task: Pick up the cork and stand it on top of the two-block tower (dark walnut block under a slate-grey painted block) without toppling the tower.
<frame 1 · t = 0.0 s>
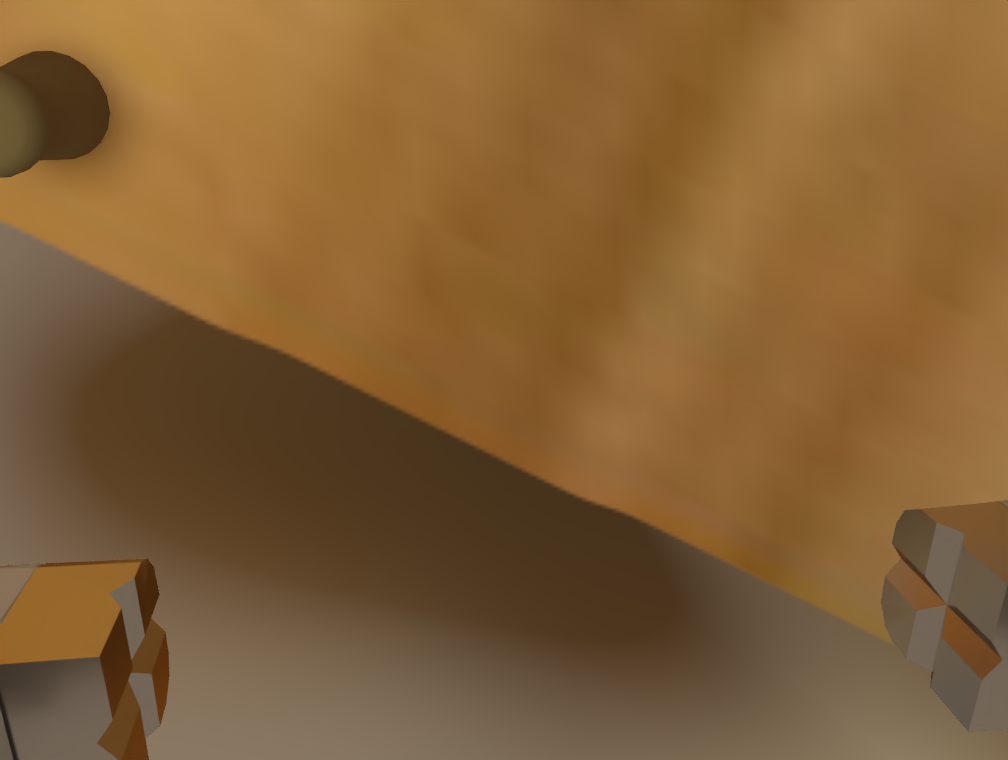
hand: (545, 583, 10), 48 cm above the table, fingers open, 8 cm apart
cork: (55, 106, 51), on the table
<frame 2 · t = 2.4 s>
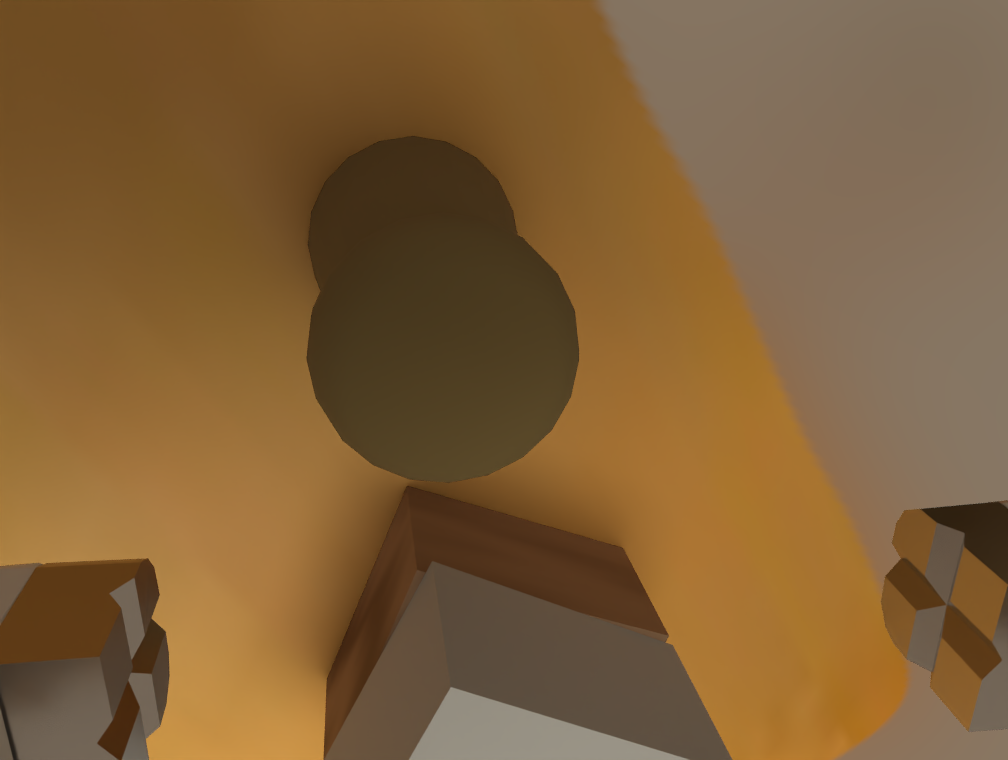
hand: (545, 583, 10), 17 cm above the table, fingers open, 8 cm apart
walnut block: (474, 610, 31), on the table, touching grey block
grey block: (494, 710, 26), point 5 cm above the table, touching walnut block
cork: (413, 242, 26), on the table
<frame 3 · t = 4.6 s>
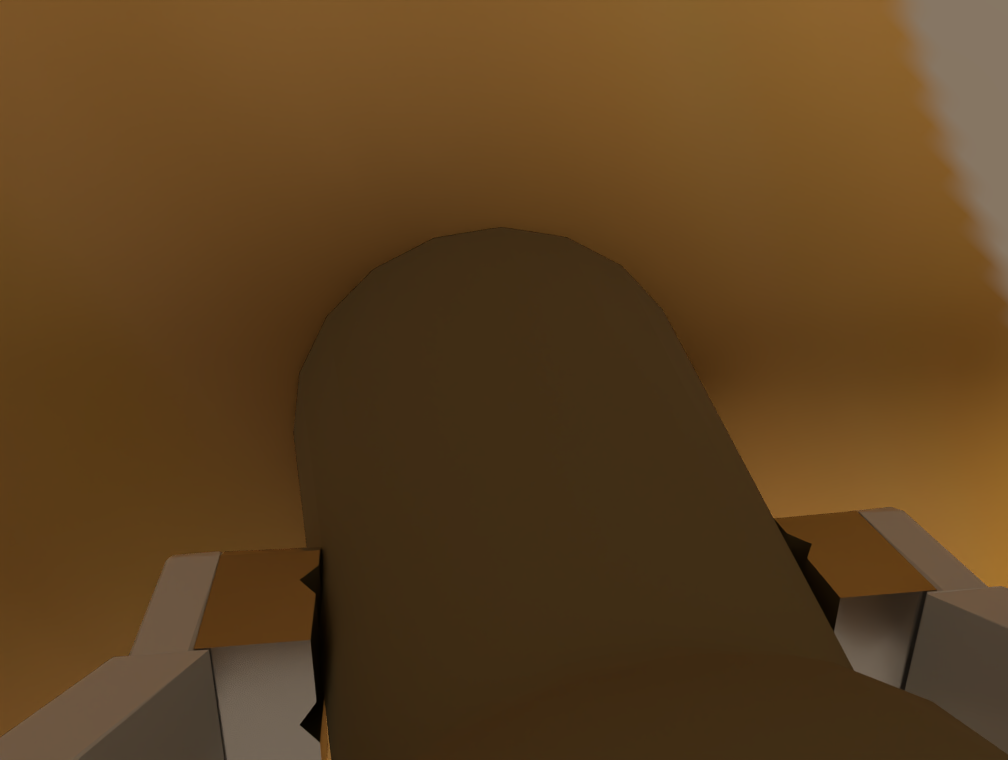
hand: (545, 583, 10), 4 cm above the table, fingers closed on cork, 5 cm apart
cork: (495, 419, 13), on the table, touching gripper
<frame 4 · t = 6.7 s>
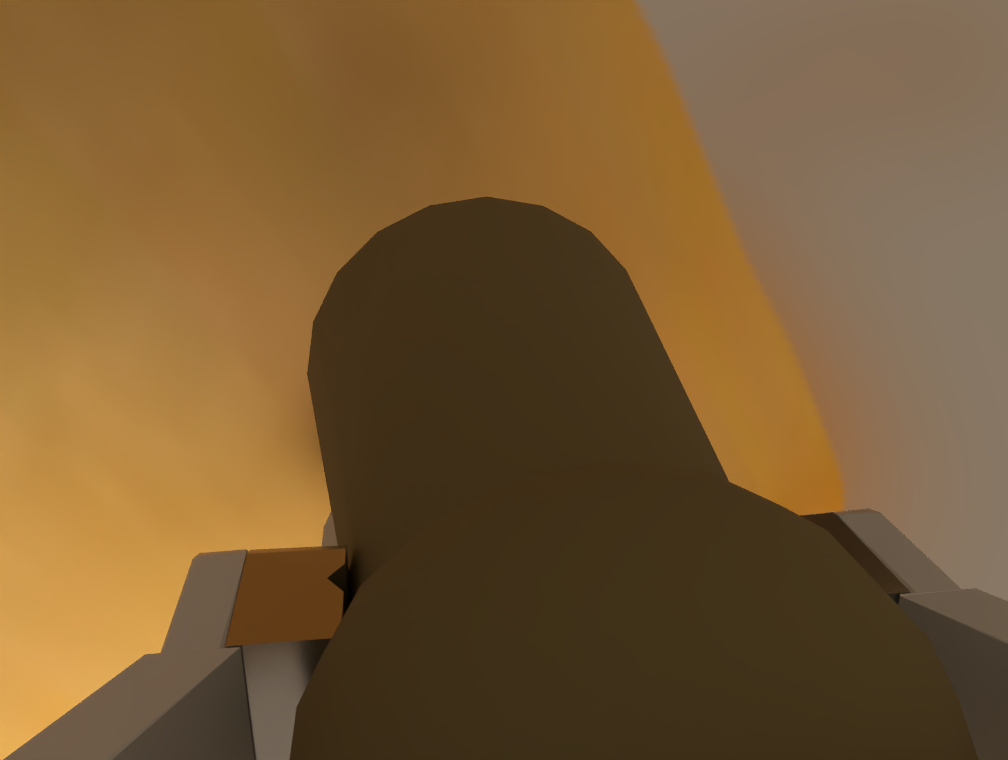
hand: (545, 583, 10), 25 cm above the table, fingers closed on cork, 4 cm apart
grey block: (471, 474, 32), point 5 cm above the table, touching walnut block
cork: (481, 365, 16), point 18 cm above the table, touching gripper
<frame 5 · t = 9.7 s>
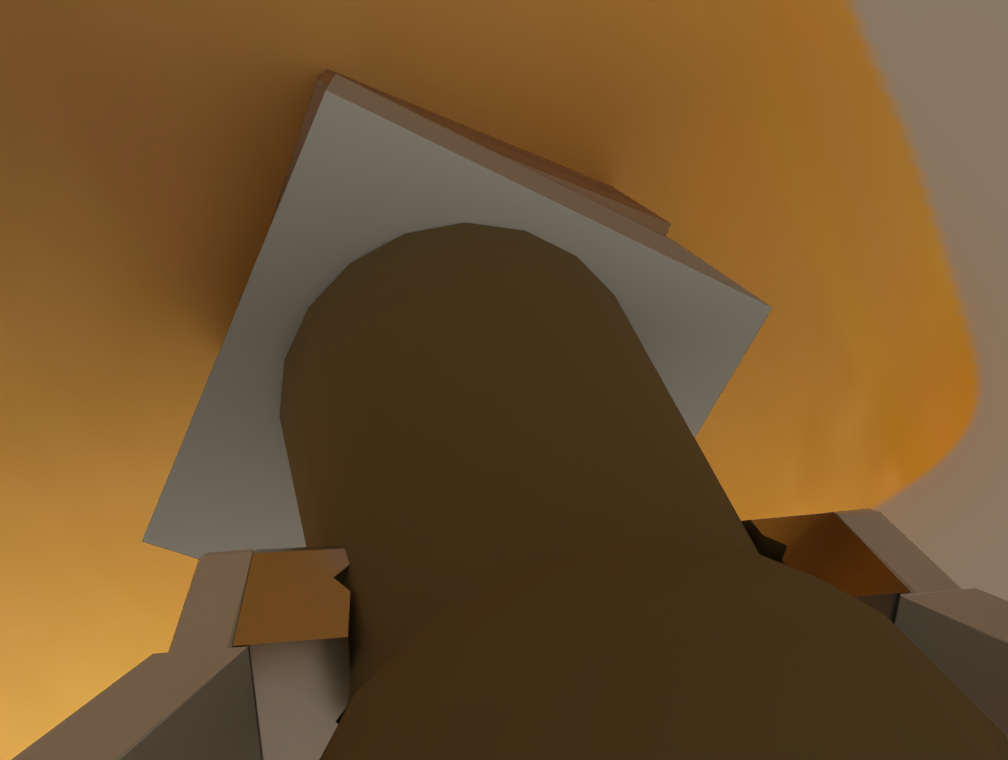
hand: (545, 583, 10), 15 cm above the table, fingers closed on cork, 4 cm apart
walnut block: (421, 271, 24), on the table, touching grey block
grey block: (435, 330, 19), point 5 cm above the table, touching cork, walnut block
cork: (465, 399, 15), point 10 cm above the table, touching grey block, gripper
when the fingers open (15 cm above the table, at t = 9.9 s): cork stays where it is, resting on grey block.
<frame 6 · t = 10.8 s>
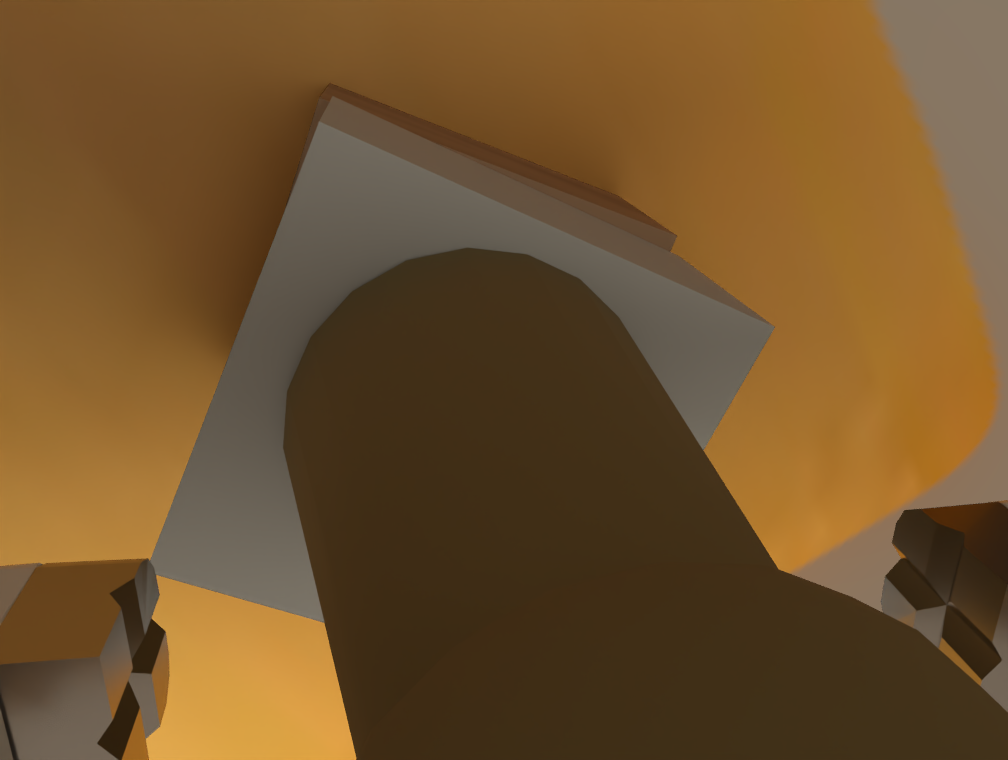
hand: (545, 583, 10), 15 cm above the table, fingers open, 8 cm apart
walnut block: (428, 283, 24), on the table, touching grey block
grey block: (438, 348, 19), point 5 cm above the table, touching cork, walnut block
cork: (470, 426, 15), point 10 cm above the table, touching grey block
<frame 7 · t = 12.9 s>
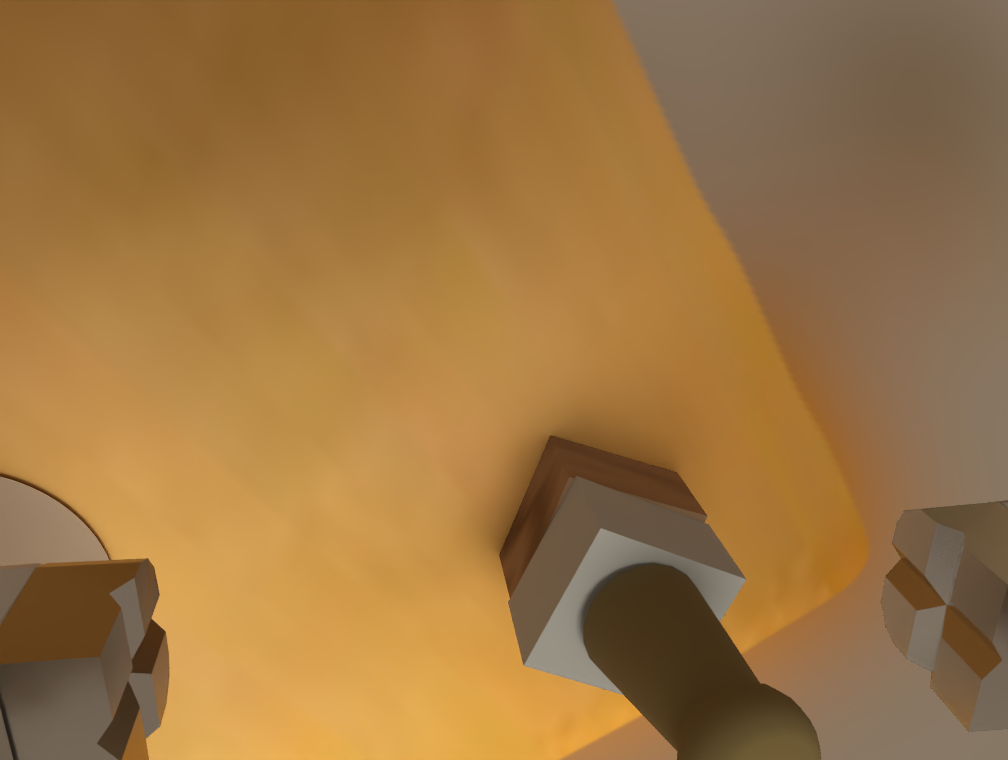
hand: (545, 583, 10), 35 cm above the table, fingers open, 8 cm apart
walnut block: (587, 512, 51), on the table, touching grey block
grey block: (608, 563, 46), point 5 cm above the table, touching cork, walnut block
cork: (641, 620, 41), point 10 cm above the table, touching grey block
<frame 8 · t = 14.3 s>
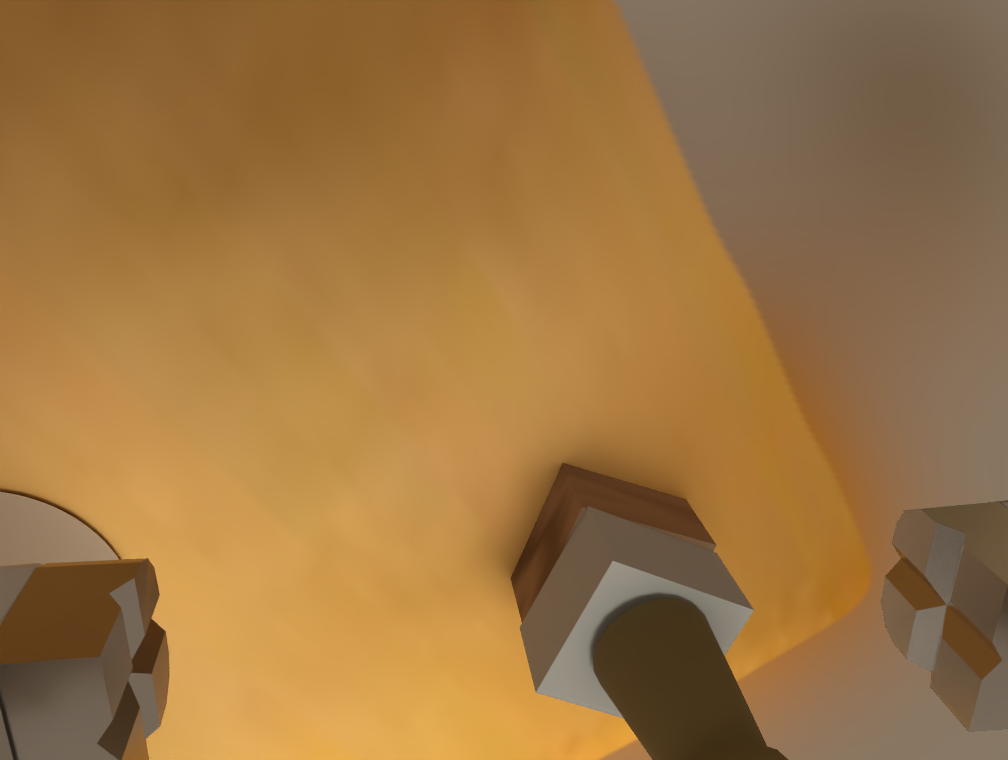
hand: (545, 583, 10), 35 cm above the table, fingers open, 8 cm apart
walnut block: (597, 538, 52), on the table, touching grey block
grey block: (618, 590, 47), point 5 cm above the table, touching cork, walnut block
cork: (650, 646, 42), point 10 cm above the table, touching grey block
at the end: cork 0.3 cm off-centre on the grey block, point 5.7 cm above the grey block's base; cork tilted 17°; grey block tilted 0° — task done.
